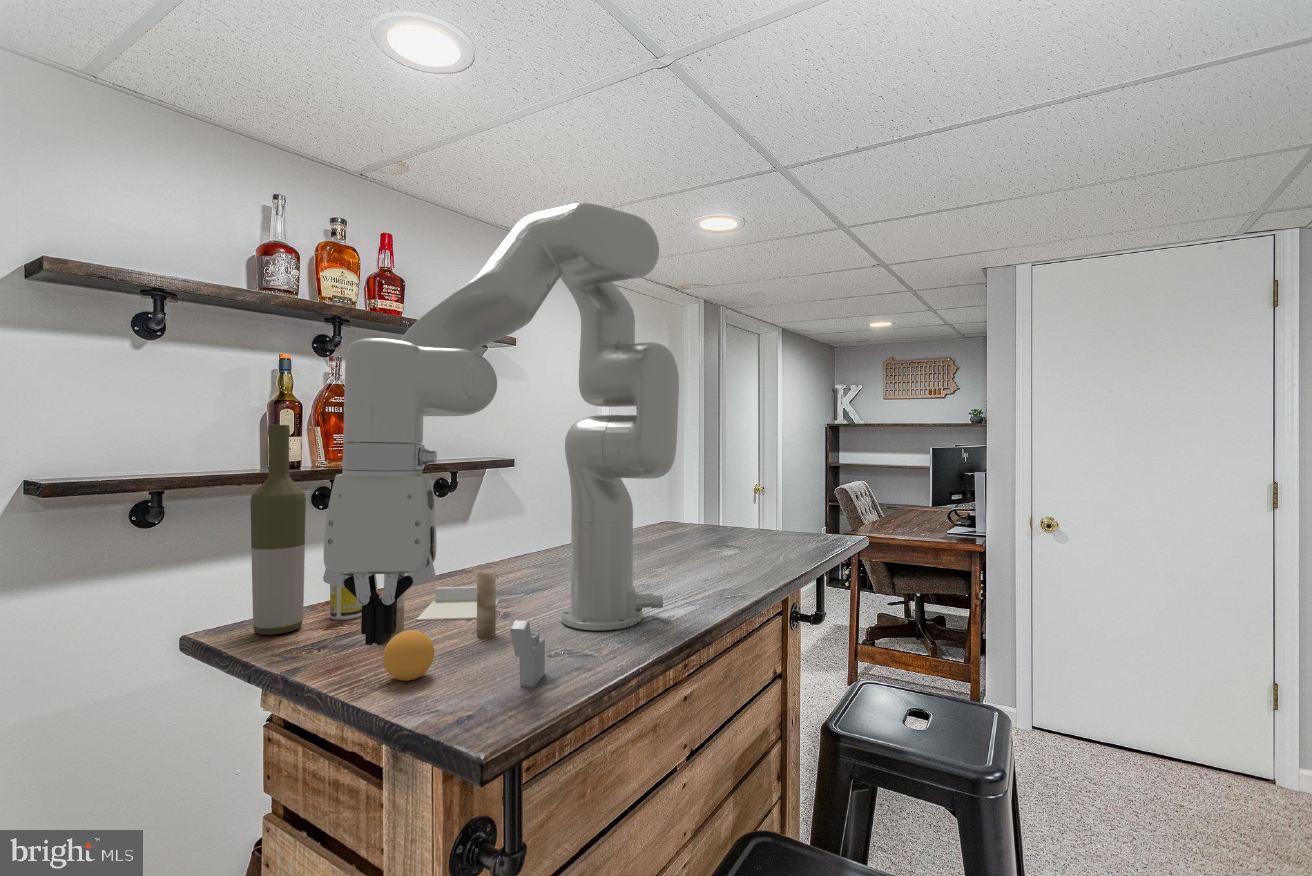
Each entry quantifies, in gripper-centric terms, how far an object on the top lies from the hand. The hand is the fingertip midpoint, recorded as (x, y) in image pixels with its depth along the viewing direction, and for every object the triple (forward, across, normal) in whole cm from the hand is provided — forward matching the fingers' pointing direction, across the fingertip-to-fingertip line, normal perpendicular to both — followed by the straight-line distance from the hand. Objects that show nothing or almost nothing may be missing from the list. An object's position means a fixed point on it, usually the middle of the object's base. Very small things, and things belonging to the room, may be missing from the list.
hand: (378, 640), depth 65 cm
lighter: (+7, -15, -7) cm, 18 cm away
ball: (+4, 0, -10) cm, 11 cm away
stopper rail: (+6, 0, -45) cm, 45 cm away
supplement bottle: (+7, +16, -38) cm, 42 cm away
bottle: (+7, +24, -31) cm, 39 cm away
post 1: (+7, +6, -26) cm, 27 cm away
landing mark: (+7, 0, -40) cm, 40 cm away
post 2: (+7, -7, -26) cm, 27 cm away
